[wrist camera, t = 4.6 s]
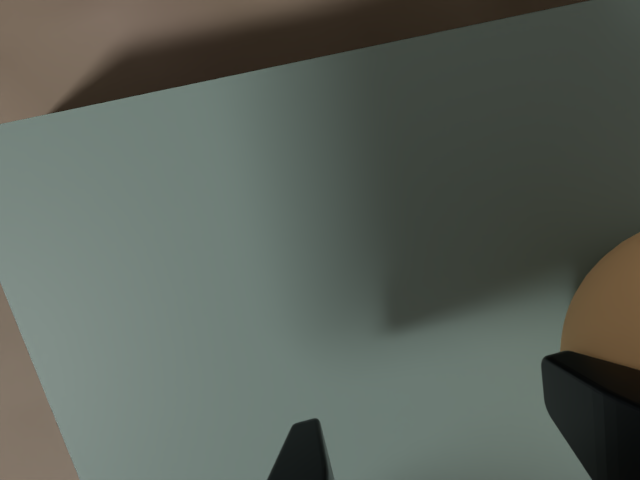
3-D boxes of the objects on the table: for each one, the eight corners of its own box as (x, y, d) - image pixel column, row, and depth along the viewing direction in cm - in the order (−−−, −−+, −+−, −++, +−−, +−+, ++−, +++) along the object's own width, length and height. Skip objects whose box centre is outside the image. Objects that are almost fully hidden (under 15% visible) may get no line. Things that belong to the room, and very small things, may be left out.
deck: (899, 375, 15) (1051, 437, 12) (180, 556, 14) (157, 672, 11) (952, -65, 12) (1175, -123, 9) (29, 130, 11) (-59, 136, 8)
